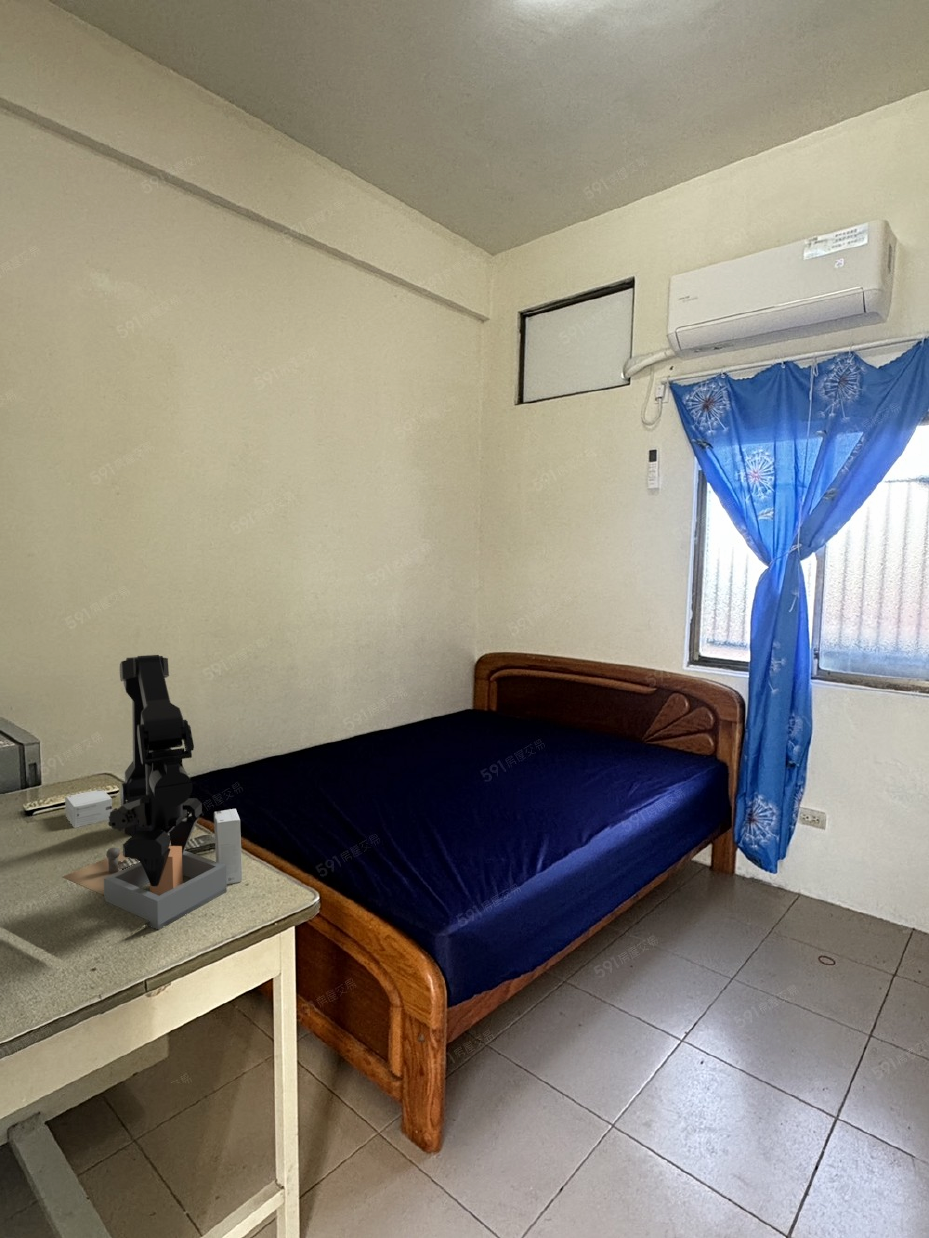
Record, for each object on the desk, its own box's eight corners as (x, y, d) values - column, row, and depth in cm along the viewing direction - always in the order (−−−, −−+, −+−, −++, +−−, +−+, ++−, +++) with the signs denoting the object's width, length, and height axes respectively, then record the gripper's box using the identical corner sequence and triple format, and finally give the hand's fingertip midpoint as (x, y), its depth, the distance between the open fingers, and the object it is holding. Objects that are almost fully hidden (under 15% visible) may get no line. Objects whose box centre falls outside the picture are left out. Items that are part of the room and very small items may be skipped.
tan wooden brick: (160, 888, 119) (159, 845, 118) (182, 888, 119) (181, 846, 118) (150, 900, 115) (149, 856, 114) (173, 900, 115) (172, 856, 114)
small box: (73, 829, 144) (72, 806, 143) (65, 817, 149) (64, 795, 149) (113, 819, 149) (112, 797, 148) (103, 809, 155) (102, 787, 154)
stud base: (123, 855, 132) (122, 828, 131) (163, 871, 126) (162, 843, 126) (62, 881, 122) (61, 852, 121) (103, 900, 116) (101, 869, 115)
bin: (174, 871, 126) (174, 846, 126) (226, 891, 120) (226, 865, 119) (104, 905, 114) (103, 878, 113) (158, 930, 107) (157, 901, 107)
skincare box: (243, 881, 123) (242, 819, 122) (217, 886, 121) (216, 823, 120) (238, 867, 129) (238, 807, 127) (214, 871, 127) (213, 810, 125)
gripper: (141, 767, 124) (144, 847, 125) (87, 807, 105) (91, 900, 107) (202, 768, 124) (203, 848, 126) (158, 808, 105) (161, 901, 107)
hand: (166, 872), depth 116 cm, fingers open, 9 cm apart
